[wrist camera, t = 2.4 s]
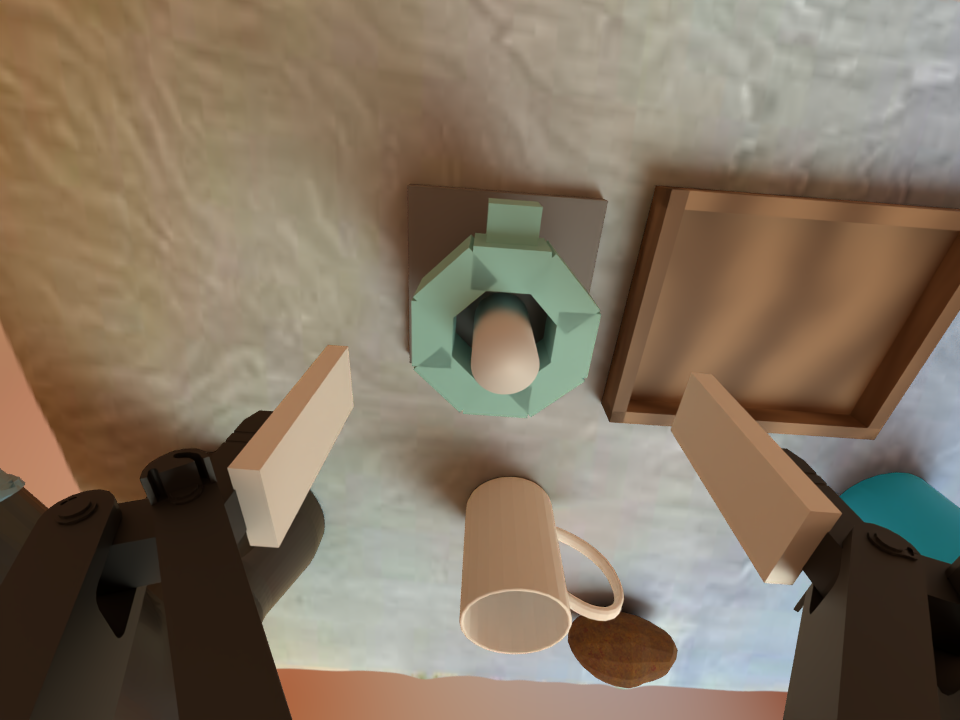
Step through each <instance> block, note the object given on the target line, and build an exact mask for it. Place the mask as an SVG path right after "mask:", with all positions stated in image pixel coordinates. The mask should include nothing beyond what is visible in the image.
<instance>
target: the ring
mask: <svg viewBox="0 0 960 720" xmlns="http://www.w3.org/2000/svg"><path fill="white" fill-rule="evenodd" d="M542 210H543V207H542V206H541V205H540V203H539V202H536V201H523V200H510V199H497V198H489V201H488V214H487V228H486V234H482V233H475V238H474V237H473V236H472V235H470V236H469V237H468V238H467V239H465V240H464V241H463V242H462V243H461V244H460V245H459V246H458V247H457V248H455V249H454V250H453V251H452V252H451V253H450V254H449V255H448V256H447V257H445V258H444V259H443V260H442V261H441V262H440V263H439V264H438V265H437V266H435V267H434V268H433V269H432V270H431V271H430V272H429V273H428V274H427V275H425V276H424V277H423V278H422V280H421V282H420V284H419V286H418V288H417V290H416V292H415V294H414V296H413V299H412V301H411V315H412V366H415V367H414V370H415V371H416V372H417V373H418V374H419V375H420V376H421V377H422V378H423V379H424V380H425V381H426V382H428V383H429V384H430V385H431V386H432V387H433V388H434V389H435V390H436V391H437V392H438V393H439V394H440V395H441V396H443V397H444V398H445V399H446V400H447V401H448V402H449V403H450V404H451V405H452V406H453V407H454V408H455V409H456V410H458V411H459V412H461V411H462V410H463V414H473V415H488V416H503V417H518V418H527V416H528V415H529V416H530V417H532V416H533V415H535V414H536V413H538V412H539V411H541V410H542V409H544V408H545V407H547V406H548V405H550V404H551V403H553V402H554V401H556V400H557V399H559V398H560V397H562V396H563V395H565V394H566V393H568V392H569V391H571V390H572V389H574V388H575V387H577V386H578V385H580V384H581V383H583V382H584V381H585V380H584V378H587V376H588V372H589V367H590V363H591V358H592V354H593V349H594V345H595V340H596V336H597V332H598V327H599V323H600V318H601V313H600V312H599V311H600V309H599V308H598V306H597V305H596V303H595V302H594V300H593V299H592V297H591V296H590V295H589V293H588V292H587V290H586V289H585V288H584V286H583V285H582V284H581V282H580V281H579V280H578V279H577V277H576V276H575V275H574V273H573V272H572V271H571V270H570V268H569V267H568V266H567V264H566V263H565V262H564V260H563V259H562V258H561V257H560V255H559V254H558V253H557V251H556V250H555V249H554V248H553V246H552V245H551V244H550V242H549V241H548V240H547V241H546V240H545V239H544V238H539V232H540V225H541V217H542ZM485 291H494V292H508V293H522V294H531V295H532V296H533V298H534V299H535V300H536V301H537V302H538V304H539V305H540V306H541V307H542V308H543V309H544V311H545V312H546V313H547V318H546V324H545V331H544V337H543V339H542V340H540V341H539V342H538V343H536V348H537V352H538V357H539V363H540V364H539V371H538V374H537V376H536V378H535V380H534V381H533V382H532V383H531V384H530V385H529V386H528V387H527V388H525V389H524V390H522V391H519V392H517V393H513V394H496V393H492V392H490V391H488V390H486V389H484V388H483V387H481V386H480V385H479V384H478V383H477V381H476V380H475V378H474V376H473V374H472V370H471V356H472V348H471V347H470V346H469V345H468V344H467V343H466V342H465V341H464V340H463V339H462V338H461V337H460V336H459V335H458V334H457V333H456V315H458V314H459V313H460V312H461V311H462V310H464V309H465V308H466V307H467V306H468V305H470V304H471V303H472V302H473V301H475V300H476V299H477V298H478V297H479V296H481V295H482V294H483V293H484V292H485Z"/></svg>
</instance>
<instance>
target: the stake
mask: <svg viewBox="0 0 960 720" xmlns="http://www.w3.org/2000/svg"><path fill="white" fill-rule="evenodd" d="M489 198H497V199H510V200H523V201H536V202H539V203H540V205H541V206H542V207H543V210H542V217H541V225H540V232H539V238H544V239H545V240H546V241H547V240H548V241H549V242H550V244H551V245H552V246H553V248H554V249H555V250H556V251H557V253H558V254H559V255H560V257H561V258H562V259H563V260H564V262H565V263H566V264H567V266H568V267H569V268H570V270H571V271H572V272H573V273H574V275H575V276H576V277H577V279H578V280H579V281H580V282H581V284H582V285H583V286H584V288H585V289H586V290H587V292H588V293H589V292H590V287H591V282H592V277H593V272H594V267H595V262H596V257H597V252H598V247H599V242H600V237H601V233H602V228H603V223H604V218H605V213H606V208H607V203H608V201H607V200H605V199H596V198H584V197H571V196H558V195H545V194H532V193H519V192H506V191H493V190H480V189H467V188H454V187H441V186H428V185H415V184H410V185H408V258H409V342H410V363H412V315H411V301H412V299H413V296H414V294H415V292H416V290H417V288H418V286H419V284H420V282H421V280H422V278H423V277H424V276H425V275H427V274H428V273H429V272H430V271H431V270H432V269H433V268H434V267H435V266H437V265H438V264H439V263H440V262H441V261H442V260H443V259H444V258H445V257H447V256H448V255H449V254H450V253H451V252H452V251H453V250H454V249H455V248H457V247H458V246H459V245H460V244H461V243H462V242H463V241H464V240H465V239H467V238H468V237H469V236H470V235H472V236H473V237H474V238H475V233H482V234H486V228H487V214H488V201H489ZM546 318H547V313H546V312H545V311H544V309H543V308H542V307H541V306H540V305H539V304H538V302H537V301H536V300H535V299H534V298H533V296H532V295H531V294H522V293H508V292H494V291H485V292H484V293H483V294H482V295H481V296H479V297H478V298H477V299H476V300H475V301H473V302H472V303H471V304H470V305H468V306H467V307H466V308H465V309H464V310H462V311H461V312H460V313H459V314H458V315H456V333H457V334H458V335H459V336H460V337H461V338H462V339H463V340H464V341H465V342H466V343H467V344H468V345H469V346H470V347H471V348H472V356H471V370H472V374H473V376H474V378H475V380H476V381H477V383H478V384H479V385H480V386H481V387H483V388H484V389H486V390H488V391H490V392H492V393H496V394H513V393H517V392H519V391H522V390H524V389H525V388H527V387H528V386H529V385H530V384H531V383H532V382H533V381H534V380H535V378H536V376H537V374H538V371H539V364H540V363H539V357H538V352H537V348H536V343H538V342H539V341H540V340H542V339H543V337H544V331H545V324H546Z"/></svg>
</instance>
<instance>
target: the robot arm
mask: <svg viewBox="0 0 960 720" xmlns="http://www.w3.org/2000/svg"><path fill="white" fill-rule="evenodd" d="M353 407H354V404H353V394H352V383H351V372H350V361H349V350H348V346H335V345H328V346H327V347H326V348H325V349H324V350H323V352H322V353H321V354H320V355H319V357H318V358H317V359H316V360H315V361H314V363H313V364H312V365H311V366H310V368H309V369H308V370H307V371H306V372H305V374H304V375H303V376H302V377H301V379H300V380H299V381H298V382H297V383H296V385H295V386H294V387H293V388H292V390H291V391H290V392H289V393H288V394H287V396H286V397H285V398H284V399H283V401H282V402H281V403H280V404H279V405H278V407H277V408H276V409H275V410H274V411H261V410H260V411H258V412H256V413H255V414H253V415H251V416H250V417H248V418H246V419H245V420H244V421H243V422H242V423H241V424H240V425H239V426H238V427H237V428H236V430H235V431H234V433H232V434H231V435H230V436H229V437H228V438H227V440H226V442H225V443H223V444H222V445H221V446H220V447H219V448H218V450H217V451H216V452H211V453H206V452H205V451H202V450H199V449H182V450H177V451H173V452H170V453H168V454H165V455H163V456H160V457H159V458H157V459H156V460H154V461H152V462H151V463H149V464H148V465H147V467H146V468H145V469H144V470H143V471H142V473H141V477H140V481H141V483H142V485H143V488H144V490H145V492H146V494H147V497H146V499H143V500H137V501H130V502H124V503H117V501H116V499H115V497H114V495H113V494H112V493H110V492H109V491H105V490H90V491H85V492H81V493H78V494H75V495H72V496H70V497H68V498H66V499H63V500H61V501H59V502H57V503H56V504H55V505H53V506H52V507H50V508H49V509H48V508H47V507H46V506H45V505H44V504H42V503H41V502H40V501H39V500H38V499H37V498H36V497H34V496H33V495H32V494H31V493H30V492H29V491H28V490H26V489H25V488H24V487H23V486H24V485H25V482H24V481H23V480H21V479H20V477H16V476H14V475H11V474H7V473H5V472H4V471H2V470H1V469H0V720H292V717H291V714H290V711H289V708H288V705H287V701H286V698H285V695H284V692H283V689H282V686H281V682H280V679H279V676H278V673H277V670H276V666H275V663H274V660H273V657H272V654H271V651H270V647H269V644H268V641H267V638H266V635H265V632H264V628H263V625H262V622H263V620H264V618H265V616H266V614H267V613H268V612H269V611H270V610H271V608H272V607H273V606H274V605H275V604H276V603H277V602H278V600H279V599H280V598H281V597H282V596H283V595H284V593H285V592H286V591H287V590H288V589H289V588H290V586H291V585H292V584H293V583H294V582H295V581H296V579H297V578H298V577H299V576H300V575H301V573H302V572H303V571H304V570H305V569H306V568H307V567H308V565H309V564H310V563H311V561H312V559H313V558H314V556H315V554H316V551H317V549H318V547H319V544H320V542H321V539H322V537H323V534H324V528H325V522H324V516H323V512H322V509H321V507H320V505H319V503H318V501H317V500H316V498H315V497H314V495H313V494H312V493H311V492H310V488H311V486H312V484H313V482H314V480H315V478H316V477H317V475H318V473H319V471H320V469H321V467H322V465H323V463H324V461H325V460H326V458H327V456H328V454H329V452H330V450H331V448H332V446H333V444H334V443H335V441H336V439H337V437H338V435H339V433H340V431H341V429H342V427H343V426H344V424H345V422H346V420H347V418H348V416H349V414H350V412H351V410H352V409H353ZM671 432H672V433H673V435H674V437H675V438H676V440H677V441H678V443H679V445H680V446H681V448H682V450H683V451H684V453H685V454H686V456H687V458H688V459H689V461H690V463H691V464H692V466H693V468H694V469H695V471H696V472H697V474H698V476H699V477H700V479H701V481H702V482H703V484H704V485H705V487H706V489H707V490H708V492H709V494H710V495H711V497H712V498H713V500H714V502H715V503H716V505H717V507H718V508H719V510H720V511H721V513H722V515H723V516H724V518H725V520H726V521H727V523H728V525H729V526H730V528H731V529H732V531H733V533H734V534H735V536H736V538H737V539H738V541H739V542H740V544H741V546H742V547H743V549H744V551H745V552H746V554H747V555H748V557H749V559H750V560H751V562H752V564H753V565H754V567H755V569H756V570H757V572H758V573H759V575H760V577H761V578H762V580H763V582H764V583H773V584H787V585H793V583H794V582H795V580H796V579H797V578H798V576H799V575H800V573H801V572H802V570H803V571H804V572H805V574H806V575H807V576H808V578H809V579H810V580H811V582H812V584H811V585H810V587H809V588H808V590H807V591H806V592H805V594H804V595H803V596H802V598H801V599H800V600H799V602H798V603H797V605H796V606H795V608H794V610H795V611H797V612H799V611H800V609H801V608H803V612H802V617H801V623H800V628H799V634H798V639H797V645H796V650H795V656H794V661H793V667H792V672H791V678H790V683H789V689H788V694H787V700H786V706H785V711H784V717H783V720H960V556H959V557H958V558H957V559H956V560H955V561H954V562H953V563H952V564H950V563H946V562H943V561H940V560H936V559H933V558H930V557H926V556H923V555H921V554H920V553H919V552H918V551H917V550H916V548H915V547H914V546H913V545H912V544H911V543H909V542H908V541H907V540H905V539H904V538H903V537H901V536H900V535H898V534H896V533H894V532H893V531H891V530H889V529H887V528H884V527H882V526H879V525H876V524H873V523H866V522H864V521H863V520H862V519H861V518H860V517H859V516H858V515H857V514H856V513H855V512H854V511H853V510H852V509H851V508H850V507H849V506H848V505H847V504H846V503H845V502H844V501H843V500H842V499H841V498H840V497H839V496H838V495H837V494H836V493H835V492H834V491H833V490H832V489H831V488H830V487H829V486H827V485H826V484H827V483H826V482H825V481H824V480H823V479H822V478H821V477H820V476H817V475H816V472H815V471H814V470H813V469H812V468H811V467H810V466H809V465H808V464H807V463H806V462H805V461H804V460H803V459H801V458H800V457H798V456H797V455H795V454H794V453H792V452H791V451H789V450H788V449H783V448H780V447H779V446H778V444H777V443H776V442H775V441H774V440H773V439H772V438H771V437H770V436H769V435H768V434H767V433H766V432H765V431H764V430H763V428H762V427H761V426H760V425H759V424H758V423H757V422H756V421H755V420H754V419H753V418H752V417H751V416H750V415H749V414H748V412H747V411H746V410H745V409H744V408H743V407H742V406H741V405H740V404H739V403H738V402H737V401H736V400H735V399H734V398H733V397H732V395H731V394H730V393H729V392H728V391H727V390H726V389H725V388H724V387H723V386H722V385H721V384H720V383H719V382H718V381H717V379H716V378H715V377H714V376H713V375H712V374H705V373H691V375H690V378H689V381H688V383H687V386H686V389H685V392H684V394H683V397H682V400H681V403H680V405H679V408H678V411H677V414H676V416H675V419H674V422H673V425H672V427H671Z"/></svg>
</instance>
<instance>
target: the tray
mask: <svg viewBox="0 0 960 720" xmlns="http://www.w3.org/2000/svg"><path fill="white" fill-rule="evenodd" d="M959 310H960V209H952V208H939V207H926V206H914V205H901V204H888V203H875V202H862V201H850V200H837V199H824V198H811V197H798V196H785V195H773V194H760V193H747V192H734V191H721V190H709V189H696V188H683V187H670V186H657V185H656V187H655V191H654V195H653V199H652V203H651V207H650V211H649V215H648V219H647V223H646V227H645V231H644V235H643V239H642V243H641V247H640V251H639V255H638V259H637V263H636V267H635V270H634V274H633V278H632V282H631V286H630V290H629V294H628V298H627V302H626V306H625V310H624V314H623V318H622V322H621V326H620V330H619V334H618V338H617V342H616V346H615V350H614V354H613V358H612V362H611V366H610V370H609V374H608V378H607V382H606V386H605V390H604V394H603V398H602V402H601V404H602V406H603V408H604V411H605V413H606V415H607V417H608V420H609V422H615V423H630V424H645V425H660V426H672V425H673V422H674V419H675V416H676V414H677V411H678V408H679V405H680V403H681V400H682V397H683V394H684V392H685V389H686V386H687V383H688V381H689V378H690V375H691V373H705V374H712V375H713V376H714V377H715V378H716V379H717V381H718V382H719V383H720V384H721V385H722V386H723V387H724V388H725V389H726V390H727V391H728V392H729V393H730V394H731V395H732V397H733V398H734V399H735V400H736V401H737V402H738V403H739V404H740V405H741V406H742V407H743V408H744V409H745V410H746V411H747V412H748V414H749V415H750V416H751V417H752V418H753V419H754V420H755V421H756V422H757V423H758V424H759V425H760V426H761V427H762V428H763V430H764V431H765V432H766V433H779V434H794V435H809V436H824V437H839V438H854V439H869V440H874V439H875V438H876V436H877V435H878V433H879V432H880V430H881V429H882V427H883V426H884V424H885V423H886V421H887V420H888V418H889V417H890V415H891V414H892V412H893V411H894V409H895V408H896V406H897V404H898V403H899V401H900V400H901V398H902V397H903V395H904V394H905V392H906V391H907V389H908V388H909V386H910V385H911V383H912V382H913V380H914V379H915V377H916V376H917V374H918V373H919V371H920V370H921V368H922V367H923V365H924V364H925V362H926V360H927V359H928V357H929V356H930V354H931V353H932V351H933V350H934V348H935V347H936V345H937V344H938V342H939V341H940V339H941V338H942V336H943V335H944V333H945V332H946V330H947V329H948V327H949V326H950V324H951V323H952V321H953V320H954V318H955V317H956V315H957V313H958V312H959Z"/></svg>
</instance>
